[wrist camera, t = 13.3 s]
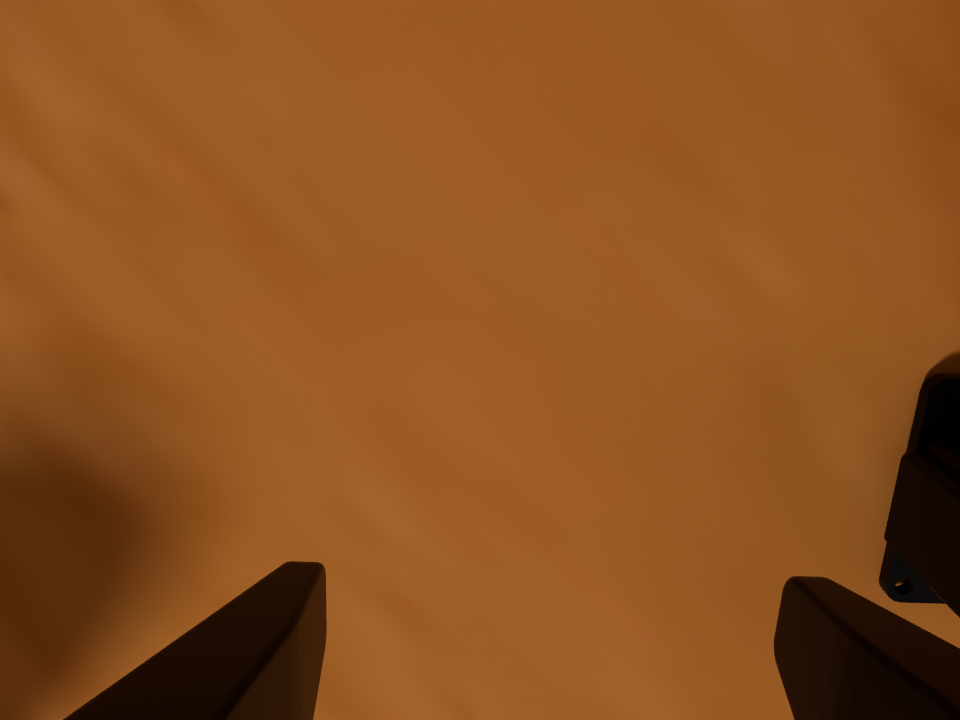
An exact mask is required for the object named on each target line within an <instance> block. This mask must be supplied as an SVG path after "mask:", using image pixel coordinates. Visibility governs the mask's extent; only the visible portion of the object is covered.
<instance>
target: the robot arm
mask: <svg viewBox="0 0 960 720" xmlns="http://www.w3.org/2000/svg"><path fill="white" fill-rule="evenodd" d="M945 388H949V393H948V395H947V397H946V398H944V399H943V400H941V401H938V395H939V393H940V392H941V391H942V390H943V389H945ZM884 538H885V540H886V542H887V544H886V549H885V554H884V558H883V563H882V567H881V572H880V577H879V584H880V586H881V588H882V590H883V591H884V592H885V593H886V594H887V595H888V597H889V598H891V599H892V600H894V601H897V602H906V603H940V604H947V605H948V606H949V608H950V609H951V610H952V611H953V612H954V613H955V614H956V615H957V616H958V617H959V618H960V374H947V373H942V374H935V375H934V376H932V377H930V378H928V379H927V380H926V381H925V382H924V383H923V385H922V387H921V390H920V393H919V398H918V402H917V407H916V411H915V416H914V421H913V425H912V430H911V434H910V439H909V443H908V448H907V451H906V453H905V454H904V455H903V456H902V458H901V461H900V466H899V471H898V475H897V480H896V485H895V489H894V494H893V498H892V503H891V508H890V512H889V517H888V522H887V526H886V531H885V536H884ZM905 578H906V580H905V582H904V583H903V584H901V585H900V586H895V585H896V583H897V582H898V581H899V580H901V579H905ZM326 628H327V626H326V573H325V568H324V566H323V565H322V564H321V563H318V562H295V561H290V562H286V563H284V564H283V565H281V566H280V567H278V568H277V569H276V570H274V571H273V572H271V573H270V574H268V575H267V576H266V577H264V578H263V579H261V580H260V581H259V582H257V583H256V584H254V585H253V586H251V587H250V588H249V589H247V590H246V591H244V592H243V593H242V594H240V595H239V596H237V597H236V598H234V599H233V600H232V601H230V602H229V603H227V604H226V605H225V606H223V607H222V608H220V609H219V610H218V611H216V612H215V613H213V614H212V615H210V616H209V617H208V618H206V619H205V620H203V621H202V622H201V623H199V624H198V625H196V626H195V627H193V628H192V629H191V630H189V631H188V632H186V633H185V634H184V635H182V636H181V637H179V638H178V639H176V640H175V641H174V642H172V643H171V644H169V645H168V646H167V647H165V648H164V649H162V650H161V651H159V652H158V653H157V654H155V655H154V656H152V657H151V658H150V659H148V660H147V661H145V662H144V663H143V664H141V665H140V666H138V667H137V668H135V669H134V670H133V671H131V672H130V673H128V674H127V675H126V676H124V677H123V678H121V679H120V680H118V681H117V682H116V683H114V684H113V685H111V686H110V687H109V688H107V689H106V690H104V691H103V692H101V693H100V694H99V695H97V696H96V697H94V698H93V699H92V700H90V701H89V702H87V703H86V704H84V705H83V706H82V707H80V708H79V709H77V710H76V711H75V712H73V713H72V714H70V715H69V716H68V717H66V718H65V719H63V720H313V717H314V711H315V705H316V699H317V693H318V687H319V681H320V675H321V669H322V663H323V658H324V652H325V644H326ZM774 655H775V660H776V664H777V667H778V670H779V673H780V676H781V679H782V683H783V686H784V689H785V692H786V695H787V698H788V701H789V704H790V707H791V710H792V714H793V717H794V720H960V648H958V647H956V646H954V645H952V644H950V643H948V642H946V641H945V640H943V639H941V638H939V637H937V636H935V635H933V634H931V633H930V632H928V631H926V630H924V629H922V628H920V627H918V626H916V625H914V624H913V623H911V622H909V621H907V620H905V619H903V618H901V617H899V616H898V615H896V614H894V613H892V612H890V611H888V610H886V609H884V608H883V607H881V606H879V605H877V604H875V603H873V602H871V601H869V600H868V599H866V598H864V597H862V596H860V595H858V594H856V593H854V592H853V591H851V590H849V589H847V588H845V587H843V586H841V585H839V584H838V583H836V582H834V581H832V580H830V579H828V578H824V577H806V576H794V577H791V578H789V579H788V580H787V581H786V583H785V585H784V588H783V592H782V598H781V603H780V609H779V615H778V620H777V626H776V632H775V637H774Z"/></svg>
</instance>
